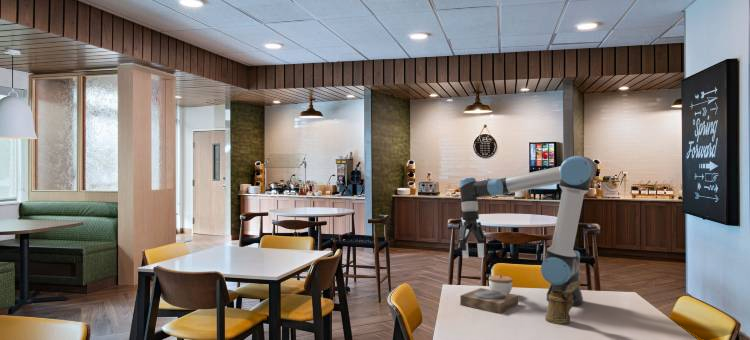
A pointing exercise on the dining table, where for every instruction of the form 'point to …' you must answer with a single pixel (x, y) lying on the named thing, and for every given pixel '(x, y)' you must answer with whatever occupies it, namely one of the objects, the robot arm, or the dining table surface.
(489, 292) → the walnut plinth
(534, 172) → the robot arm
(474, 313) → the dining table surface
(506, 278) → the lidded jar
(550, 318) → the wooden mug
